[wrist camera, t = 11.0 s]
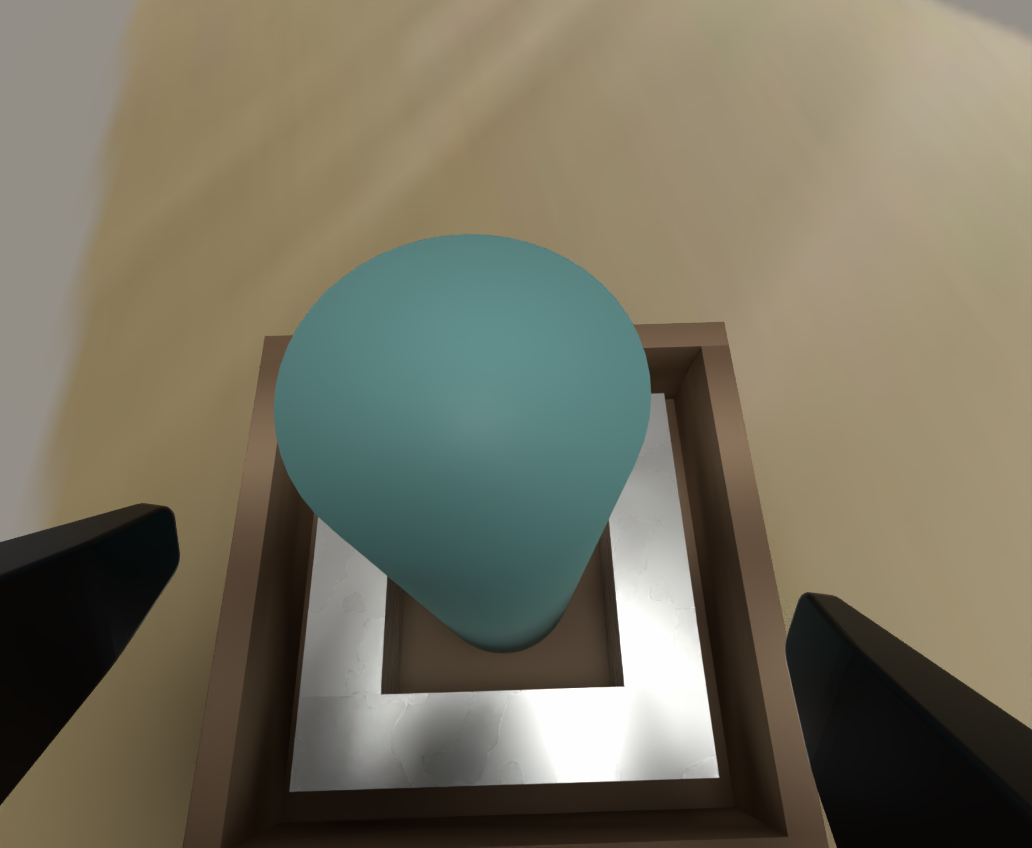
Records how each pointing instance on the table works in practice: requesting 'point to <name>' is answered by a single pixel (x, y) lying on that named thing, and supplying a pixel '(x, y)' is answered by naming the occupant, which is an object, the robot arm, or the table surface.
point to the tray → (516, 668)
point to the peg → (467, 425)
